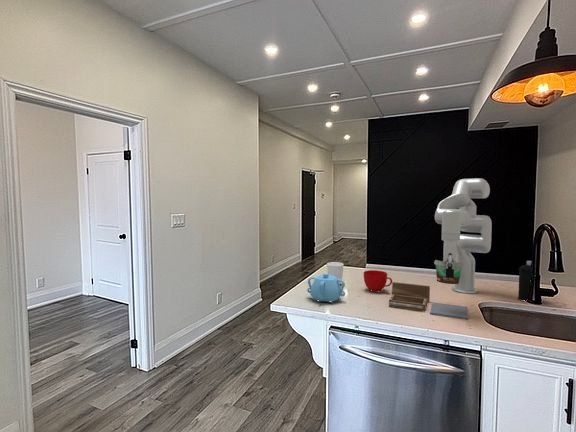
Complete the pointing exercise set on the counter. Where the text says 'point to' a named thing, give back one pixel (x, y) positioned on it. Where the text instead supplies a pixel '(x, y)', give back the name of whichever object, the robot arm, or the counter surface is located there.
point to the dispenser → (409, 296)
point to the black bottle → (524, 281)
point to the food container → (441, 272)
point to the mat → (449, 310)
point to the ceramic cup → (376, 280)
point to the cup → (335, 269)
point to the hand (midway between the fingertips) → (449, 275)
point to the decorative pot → (326, 288)
